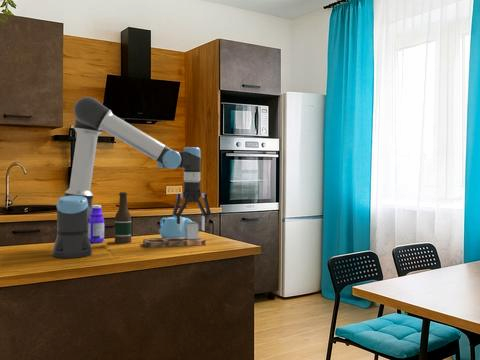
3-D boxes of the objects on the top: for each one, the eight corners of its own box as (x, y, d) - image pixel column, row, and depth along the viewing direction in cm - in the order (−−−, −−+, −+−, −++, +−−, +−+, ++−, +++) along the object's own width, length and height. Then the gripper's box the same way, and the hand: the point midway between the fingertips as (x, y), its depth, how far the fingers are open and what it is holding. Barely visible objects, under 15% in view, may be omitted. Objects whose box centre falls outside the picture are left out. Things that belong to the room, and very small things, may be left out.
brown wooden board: (146, 250, 206) (146, 242, 206) (143, 246, 216) (143, 239, 216) (205, 247, 215) (205, 240, 215) (199, 243, 225) (199, 236, 225)
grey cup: (187, 244, 215) (187, 223, 215) (184, 242, 220) (184, 221, 219) (198, 243, 217) (198, 222, 216) (195, 242, 221) (195, 221, 221)
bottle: (99, 240, 231) (99, 204, 230) (106, 241, 227) (106, 205, 227) (86, 242, 225) (86, 205, 225) (93, 243, 222) (93, 206, 221)
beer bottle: (134, 243, 223) (134, 191, 222) (128, 246, 215) (128, 192, 215) (117, 243, 224) (117, 191, 223) (111, 246, 216) (111, 192, 215)
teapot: (150, 240, 233) (150, 214, 233) (171, 234, 252) (172, 210, 251) (185, 243, 226) (186, 216, 225) (205, 237, 244) (205, 212, 243)
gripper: (169, 181, 210) (168, 232, 211) (218, 181, 218) (217, 231, 218) (165, 181, 217) (165, 230, 218) (213, 181, 225) (213, 228, 225)
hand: (191, 230), depth 218 cm, fingers open, 10 cm apart
